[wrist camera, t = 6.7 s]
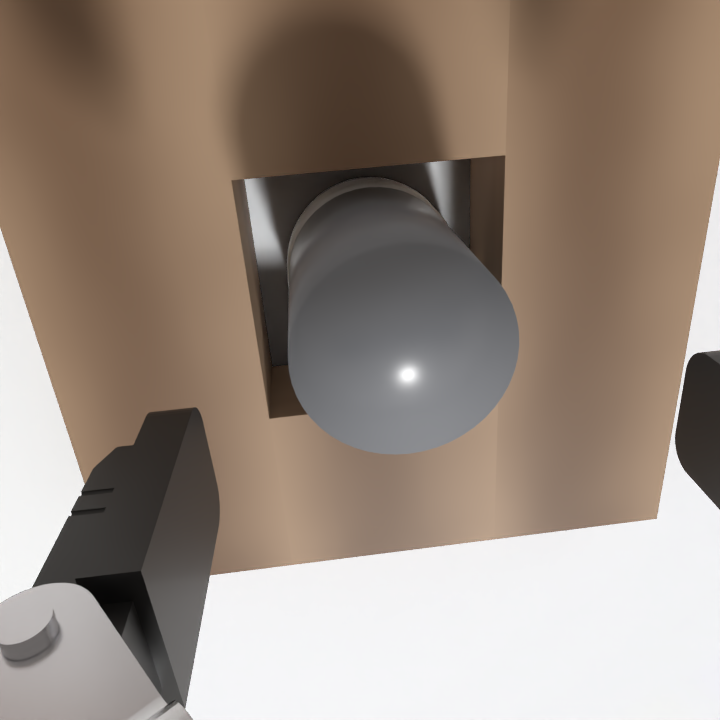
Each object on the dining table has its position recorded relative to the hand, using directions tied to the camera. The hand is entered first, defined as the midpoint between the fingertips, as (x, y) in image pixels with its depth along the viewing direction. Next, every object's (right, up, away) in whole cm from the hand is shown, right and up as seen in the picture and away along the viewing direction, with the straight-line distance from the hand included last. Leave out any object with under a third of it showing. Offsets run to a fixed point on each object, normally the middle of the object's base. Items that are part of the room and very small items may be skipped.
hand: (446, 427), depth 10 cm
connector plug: (-1, +4, +7) cm, 8 cm away
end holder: (-1, +4, +7) cm, 8 cm away
